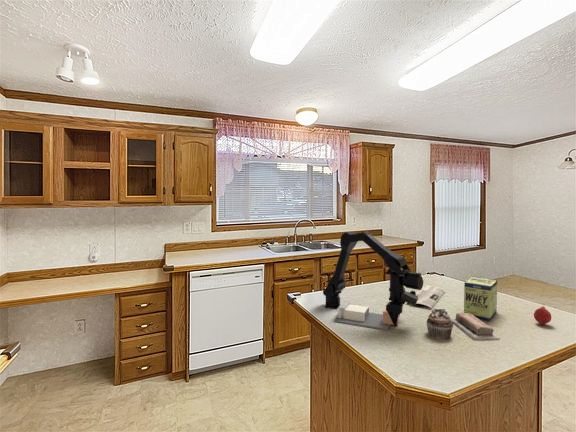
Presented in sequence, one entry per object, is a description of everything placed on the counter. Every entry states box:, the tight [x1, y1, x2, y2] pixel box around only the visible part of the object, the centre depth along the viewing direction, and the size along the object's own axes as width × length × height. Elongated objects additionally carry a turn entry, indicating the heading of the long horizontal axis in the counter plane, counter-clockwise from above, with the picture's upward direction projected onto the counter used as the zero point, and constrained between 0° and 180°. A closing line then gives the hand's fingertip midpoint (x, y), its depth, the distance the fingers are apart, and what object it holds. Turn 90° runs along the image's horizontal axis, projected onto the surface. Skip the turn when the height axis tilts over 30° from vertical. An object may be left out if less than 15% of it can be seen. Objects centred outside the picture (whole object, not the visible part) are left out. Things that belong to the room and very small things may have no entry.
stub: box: [382, 307, 400, 326], centre depth 137 cm, size 6×5×5 cm
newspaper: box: [408, 283, 446, 310], centre depth 171 cm, size 35×12×4 cm, turn 143°
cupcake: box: [426, 308, 454, 340], centre depth 125 cm, size 10×10×10 cm
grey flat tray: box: [334, 301, 392, 332], centre depth 142 cm, size 23×16×6 cm
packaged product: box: [451, 312, 500, 341], centre depth 130 cm, size 18×5×10 cm
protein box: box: [463, 276, 498, 322], centre depth 146 cm, size 10×16×16 cm
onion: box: [533, 305, 552, 326], centre depth 134 cm, size 6×6×8 cm
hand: (396, 321), depth 136 cm, fingers open, 9 cm apart
